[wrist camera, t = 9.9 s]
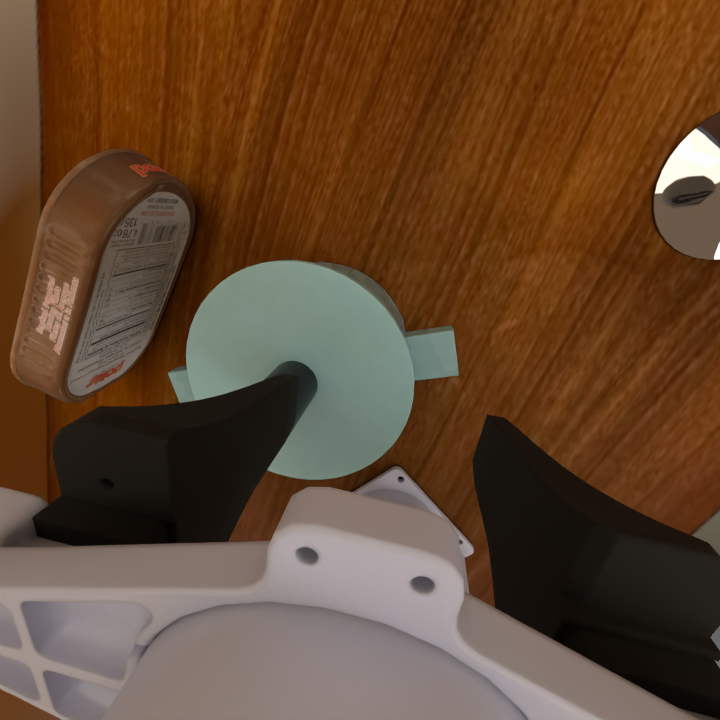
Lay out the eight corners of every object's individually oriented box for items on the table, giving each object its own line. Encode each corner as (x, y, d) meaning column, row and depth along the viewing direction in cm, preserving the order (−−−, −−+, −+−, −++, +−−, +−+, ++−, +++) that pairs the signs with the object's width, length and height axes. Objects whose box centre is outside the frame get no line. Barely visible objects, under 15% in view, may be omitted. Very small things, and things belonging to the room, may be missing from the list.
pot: (458, 403, 24) (469, 455, 19) (242, 426, 27) (198, 475, 22) (437, 236, 21) (443, 240, 15) (195, 286, 24) (128, 304, 19)
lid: (429, 460, 20) (432, 533, 15) (236, 474, 22) (186, 540, 18) (393, 234, 16) (381, 237, 11) (166, 283, 19) (79, 301, 14)
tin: (178, 160, 21) (40, 121, 14) (223, 190, 22) (112, 168, 14) (112, 353, 27) (-13, 404, 19) (148, 375, 27) (39, 434, 19)
